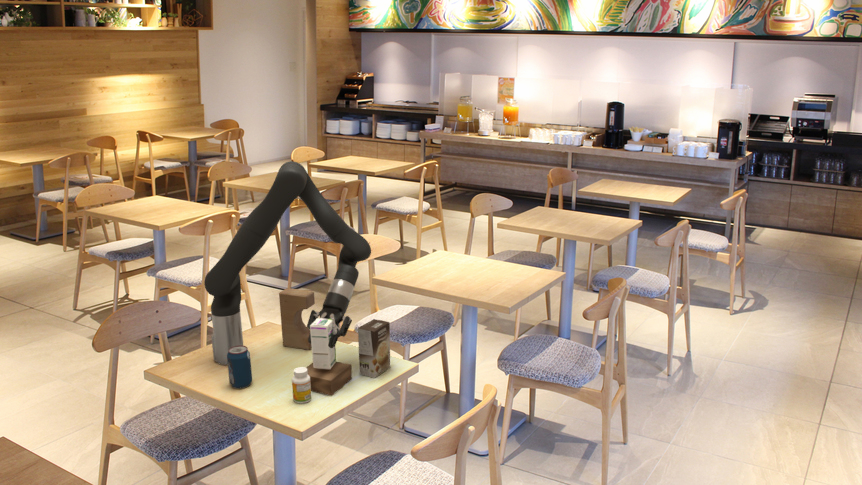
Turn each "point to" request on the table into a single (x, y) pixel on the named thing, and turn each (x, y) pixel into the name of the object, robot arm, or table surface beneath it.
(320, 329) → the syrup box
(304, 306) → the decorative block
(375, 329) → the coffee box
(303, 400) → the supplement bottle
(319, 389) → the walnut block
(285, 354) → the table surface
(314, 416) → the table surface
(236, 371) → the soda can
